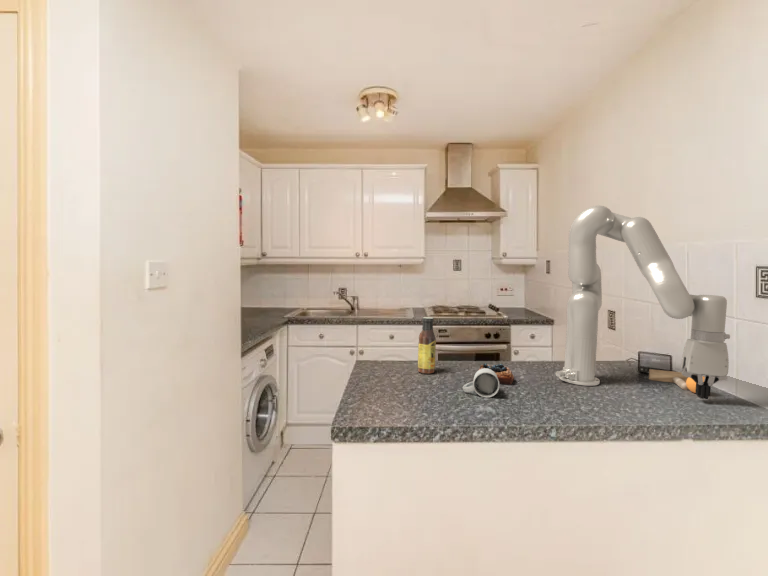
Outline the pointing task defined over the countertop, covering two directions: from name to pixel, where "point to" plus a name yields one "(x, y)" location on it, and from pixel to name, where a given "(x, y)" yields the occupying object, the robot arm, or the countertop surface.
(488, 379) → the ceramic mug
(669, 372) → the wall
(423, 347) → the sauce bottle
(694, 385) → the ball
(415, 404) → the countertop surface
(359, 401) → the countertop surface
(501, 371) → the pastry
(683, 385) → the pin
